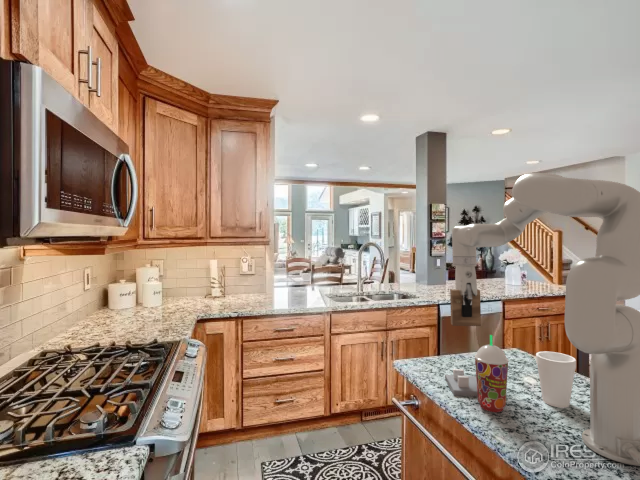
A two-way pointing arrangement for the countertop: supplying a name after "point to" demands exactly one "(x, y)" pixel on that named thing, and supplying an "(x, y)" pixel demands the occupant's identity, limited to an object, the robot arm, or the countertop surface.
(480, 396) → the smoothie
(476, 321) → the door
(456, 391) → the hinge base
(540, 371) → the foam cup
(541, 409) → the countertop surface
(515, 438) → the countertop surface
